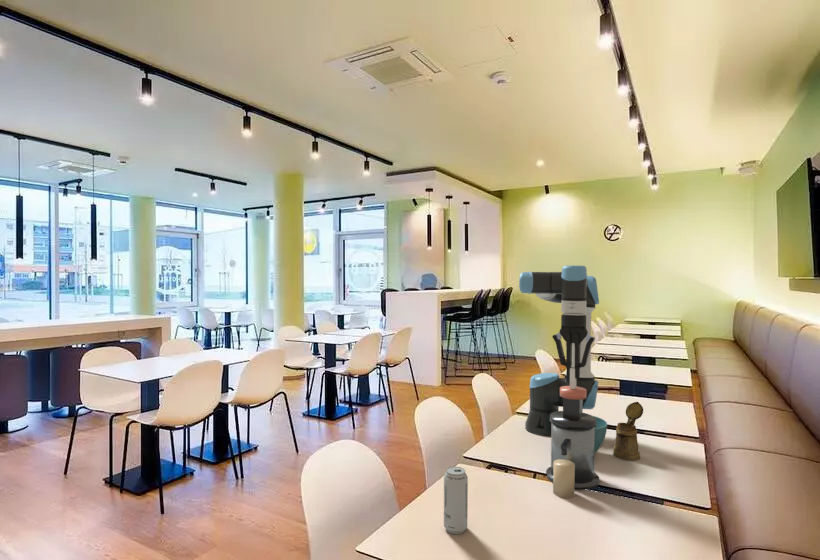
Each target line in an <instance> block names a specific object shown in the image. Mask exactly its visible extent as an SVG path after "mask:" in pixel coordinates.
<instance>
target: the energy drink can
mask: <svg viewBox="0 0 820 560" xmlns="http://www.w3.org/2000/svg"><path fill="white" fill-rule="evenodd" d="M468 481H469V478H468V475H467V473H466V470H465V468H463V467H460V466H449V467H447V468H446V472H445V474H444V475H443V527H444V528H445V530H446V532H448V533H450V534H453V535H460V534H461V535H462V534H463V533H465V532H466V529H467V528H468V511H469V510H468V509H469V508H468V507H469V506H468V497H469V496H468V490H469V489H468V488H469V487H468V486H469V485H468V484H469V482H468Z"/></svg>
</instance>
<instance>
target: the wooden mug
mask: <svg viewBox="0 0 820 560" xmlns="http://www.w3.org/2000/svg"><path fill="white" fill-rule="evenodd" d="M643 414H644V408H643V406H642V404H640V402H638V401H633V402H631V403H630V404H628V405H627V406H626V409H625V415H626V417H627V421H626V422H618V423H617V425H616V429H615V433H616V434H615V442H614V447H613V451H612V452H613V453H612V455H613V456H614V457H615V458H618V459H621V460H625V461H638V460H639V461H640V459H641V453H640V451H639V444H638V443H639V441H638V431H637V430H638V429H637V426H636V425H635V423H636V420H639V419H640V418H641V417H642V416H643Z"/></svg>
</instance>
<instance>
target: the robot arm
mask: <svg viewBox="0 0 820 560" xmlns="http://www.w3.org/2000/svg"><path fill="white" fill-rule="evenodd" d="M518 281H519V284H518V287H519V291H520V293H522V294H528V295H529V294H535V296H536V297H537V298H539V299H541V300H544V301H547V302H551V303H556V304H561V306H560V307H561V308H560V309H561V310H560V311H561V313H563V314H561V318H560V329H559V332H558V333H556V334H553V335H552V339H553V340H554V343H555V346H556V350H557V354H558V358H559V362H560V365H561V366H564V367H566V371H565V373H564V377H560V375H559V374H558V373H555V372H543V373H537V374H534V375H532V376H531V377H530V381H529V386H528V387H529V411H528V415H527V418H526V421H525V427H524V428H525V430H526V431H527V432H529V433H532V434H534V435H539V436H551V422H550V414H551V413H553V412H556V411H560V410H559V407H561V408H563V397H561V396H560V387H562V386H570V389H575V388H576V386H577V387H582V388H585V389H586V399H583V410H593V409H594V408H595V407H596V402H597V395H598V388H599V381H598V380H595V378H596V377H595V376H596V375H594V374H593V372H592V368H591V366H592V364H591V363H592V344H593V343H594V342H595V340H596V337H595V336H592V312H593V311H595V310H596V305H599V304H600V299H599V292H598V285H597V284H598V283H597V279H596V277H595V276H593V275H588V273H587V266H586V265H563V266H562V268H561V271H548V272H547V271H523V272H520V274H519V280H518ZM562 339H563V340H564V342H565V346H566V347H565V348H566V349H565V351H566V354H565V352H564V347H563V344H562V341H561V340H562ZM565 355H566V356H565Z"/></svg>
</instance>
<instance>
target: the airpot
mask: <svg viewBox="0 0 820 560" xmlns="http://www.w3.org/2000/svg"><path fill="white" fill-rule="evenodd" d="M583 410H584V409H583V399H582V400H573V399H566V398H563V407H562V410H559V411H556V412H553V413H551V414H550V422H551V435H550V437H551V439H550V440H551V441H550V442H551V443H550V445H551V446H550V447H551V448H550V466H548V468H546V471H545V477H546V479H547V480H548V481H549V482H551V483H552V484H553V462H554V461H555V460H558V459H564V460H569V461H571V462H573V463H574V464H575V484H574V490H579V491H580V490H581V491H582V490H584V491H585V490H591V489H592V490H593V489H595V488H597V487H598V486H599V485H598V484H600V476H599V474H597V473H596V472H595V454H594V437H595V426H596V418H595V417H596V416H595V415H592V414H590V413H585V412H583ZM594 416H595V417H594ZM546 474H547V476H546Z"/></svg>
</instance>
